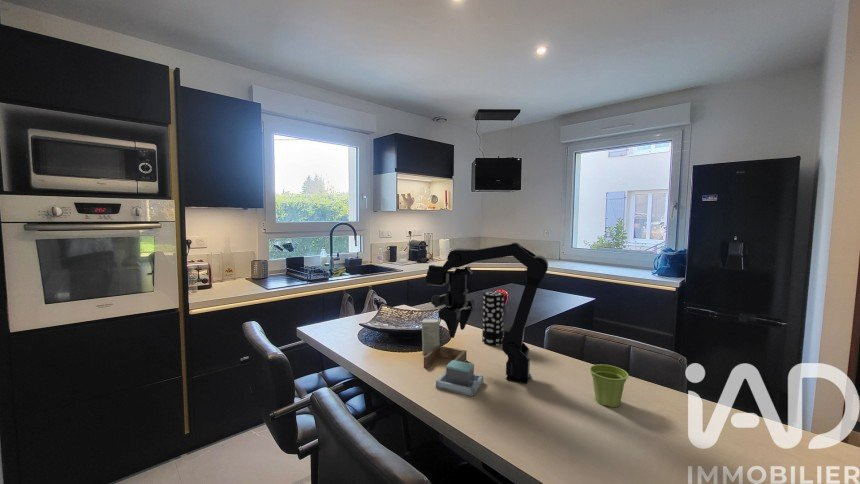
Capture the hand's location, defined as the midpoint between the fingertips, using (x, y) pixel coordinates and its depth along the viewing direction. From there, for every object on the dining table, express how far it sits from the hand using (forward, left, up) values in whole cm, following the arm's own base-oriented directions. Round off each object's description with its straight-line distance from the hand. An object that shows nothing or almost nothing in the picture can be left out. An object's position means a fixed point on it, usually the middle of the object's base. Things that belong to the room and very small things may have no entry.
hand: (457, 333), depth 117 cm
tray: (-5, +11, -12) cm, 17 cm away
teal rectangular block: (-5, +11, -11) cm, 16 cm away
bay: (+5, -2, -12) cm, 13 cm away
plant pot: (-45, +2, -12) cm, 47 cm away
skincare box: (+14, -9, -12) cm, 21 cm away
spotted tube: (-4, -30, -12) cm, 33 cm away
